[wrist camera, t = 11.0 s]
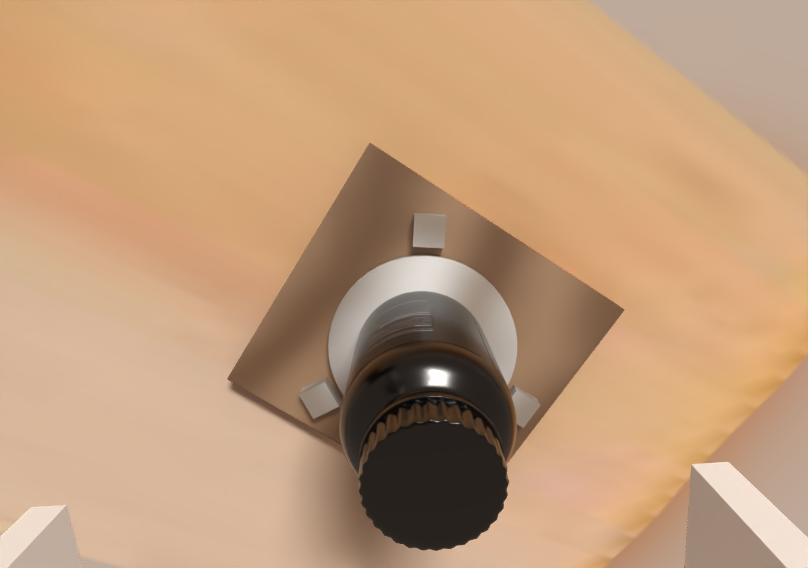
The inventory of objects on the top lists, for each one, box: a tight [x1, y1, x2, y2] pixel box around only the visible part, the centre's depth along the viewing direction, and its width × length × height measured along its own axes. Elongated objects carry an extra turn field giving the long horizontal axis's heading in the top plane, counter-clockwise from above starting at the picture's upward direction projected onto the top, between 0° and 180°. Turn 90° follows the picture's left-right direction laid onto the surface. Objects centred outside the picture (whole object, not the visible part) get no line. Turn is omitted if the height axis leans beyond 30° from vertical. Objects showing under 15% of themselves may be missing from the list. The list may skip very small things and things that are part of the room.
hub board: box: [228, 143, 624, 463], centre depth 29 cm, size 16×15×2 cm
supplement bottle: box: [339, 291, 517, 551], centre depth 23 cm, size 7×7×12 cm
